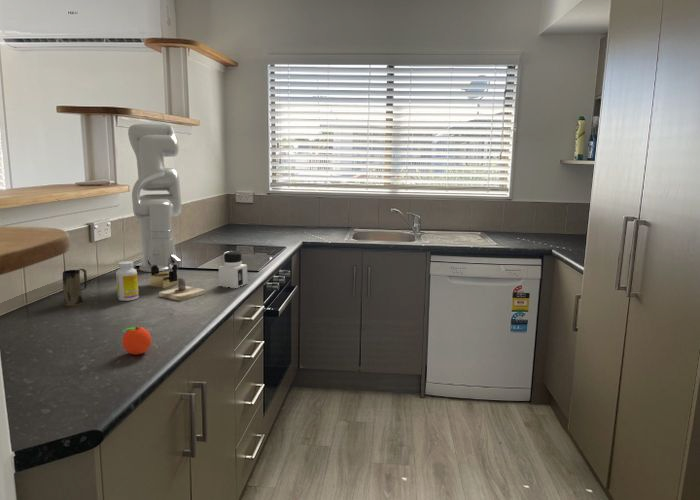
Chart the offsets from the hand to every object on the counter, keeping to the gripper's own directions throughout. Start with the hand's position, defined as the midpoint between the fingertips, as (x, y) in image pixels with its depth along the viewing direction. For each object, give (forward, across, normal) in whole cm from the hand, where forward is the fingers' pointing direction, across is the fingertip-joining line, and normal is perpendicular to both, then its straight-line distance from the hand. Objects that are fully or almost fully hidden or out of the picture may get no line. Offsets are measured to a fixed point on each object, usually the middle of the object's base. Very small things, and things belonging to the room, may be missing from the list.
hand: (164, 279), depth 201 cm
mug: (+2, -5, -32) cm, 32 cm away
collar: (+2, 0, 0) cm, 2 cm away
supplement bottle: (+3, +4, -19) cm, 19 cm away
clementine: (+3, +47, -50) cm, 68 cm away
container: (+2, +22, +14) cm, 26 cm away
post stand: (+2, +16, -6) cm, 17 cm away
